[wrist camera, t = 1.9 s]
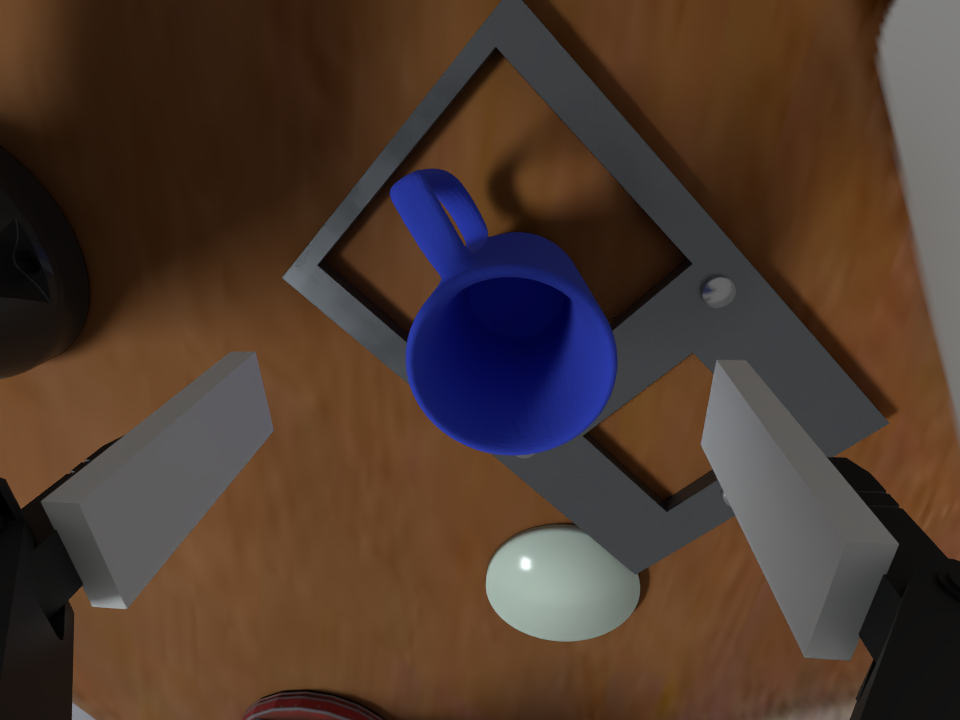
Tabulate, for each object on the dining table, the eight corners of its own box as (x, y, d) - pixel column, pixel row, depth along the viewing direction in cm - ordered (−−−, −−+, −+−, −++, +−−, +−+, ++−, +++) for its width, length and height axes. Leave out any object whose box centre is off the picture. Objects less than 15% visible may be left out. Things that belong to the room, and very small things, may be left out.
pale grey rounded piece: (456, 575, 39) (454, 584, 38) (565, 498, 35) (566, 506, 34) (557, 650, 42) (557, 660, 41) (670, 587, 38) (672, 596, 37)
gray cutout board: (289, 272, 30) (278, 280, 29) (512, -8, 23) (511, -14, 22) (632, 563, 37) (636, 579, 36) (878, 413, 30) (893, 427, 29)
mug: (512, 111, 25) (500, 113, 16) (616, 317, 29) (652, 409, 20) (376, 198, 28) (300, 241, 19) (489, 377, 32) (472, 484, 23)
